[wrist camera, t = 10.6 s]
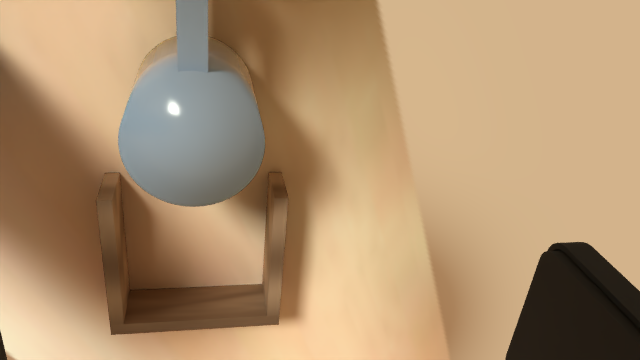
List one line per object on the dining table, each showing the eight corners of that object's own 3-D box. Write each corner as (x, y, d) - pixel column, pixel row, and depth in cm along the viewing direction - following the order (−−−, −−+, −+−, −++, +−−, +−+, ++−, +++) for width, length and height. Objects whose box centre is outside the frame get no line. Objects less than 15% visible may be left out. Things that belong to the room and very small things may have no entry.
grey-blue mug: (125, -62, 33) (102, -44, 25) (258, -51, 35) (274, -31, 27) (139, 143, 39) (123, 207, 31) (250, 144, 41) (261, 205, 33)
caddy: (105, 173, 40) (96, 200, 36) (281, 172, 42) (288, 198, 39) (118, 300, 45) (111, 334, 42) (273, 292, 48) (278, 324, 45)
